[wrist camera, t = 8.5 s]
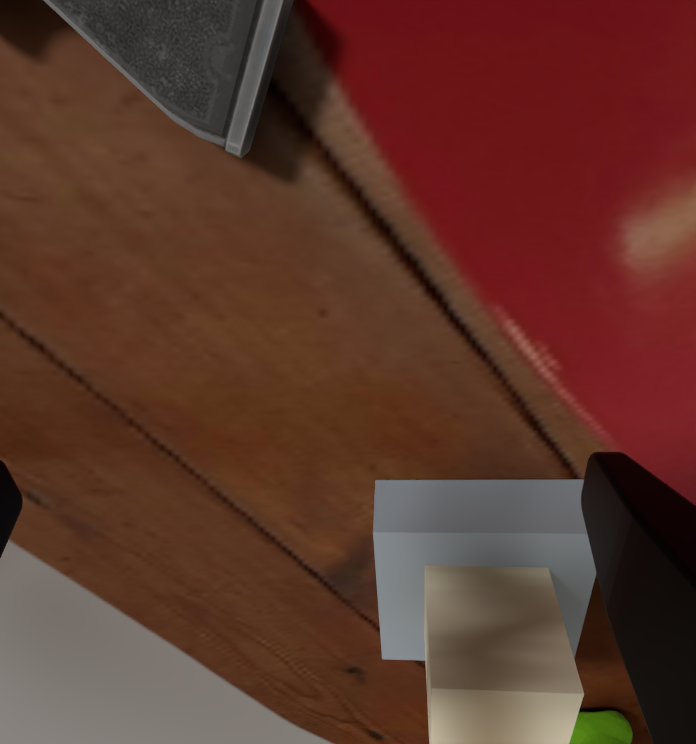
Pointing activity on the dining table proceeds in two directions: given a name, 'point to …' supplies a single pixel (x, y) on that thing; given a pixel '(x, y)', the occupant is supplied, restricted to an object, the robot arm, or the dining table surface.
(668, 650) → the robot arm
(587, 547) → the base
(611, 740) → the toy
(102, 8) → the handgun
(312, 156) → the dining table surface
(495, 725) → the cube
